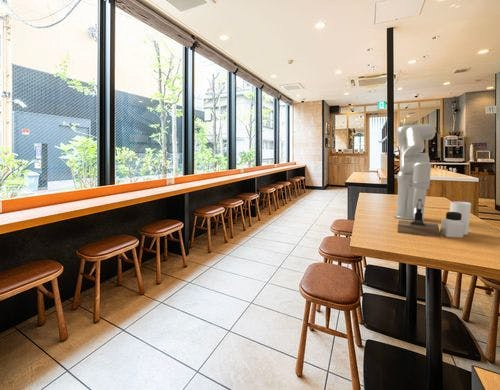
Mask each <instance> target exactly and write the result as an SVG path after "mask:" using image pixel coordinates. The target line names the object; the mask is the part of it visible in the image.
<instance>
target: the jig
mask: <svg viewBox="0 0 500 390" xmlns="http://www.w3.org/2000/svg"><path fill="white" fill-rule="evenodd" d="M397 223H398V224H397V233H400V234H401V233H403V234H411V235H418V236H419V235H420V236H425V237H426V236H430V237H435V238H439V236H440V227H439V224H438V223H432V222H424V221H423V225H415V224H413V220H412V221H411V220H405V219H401V220H400V219H399V220H398V222H397Z"/></svg>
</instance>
